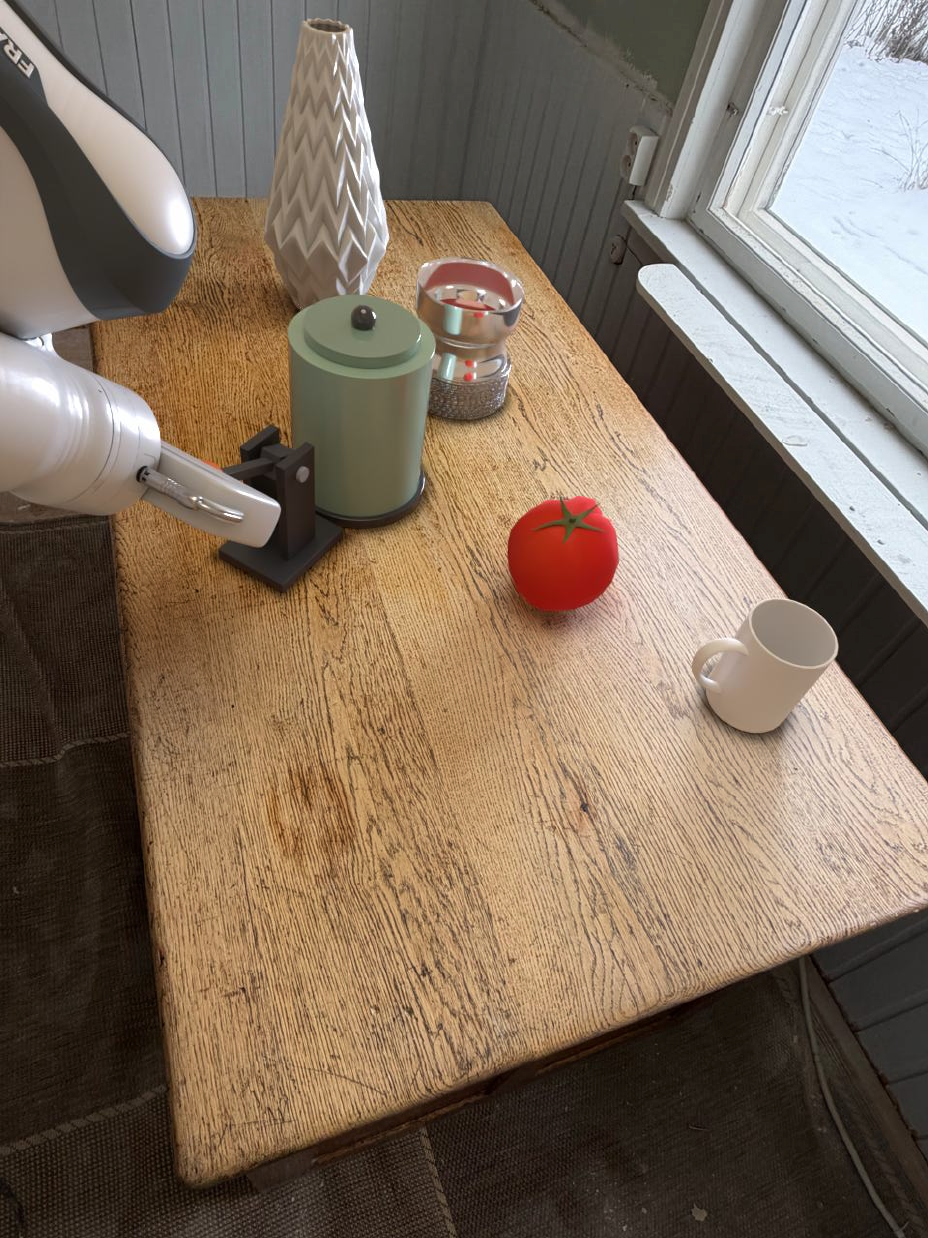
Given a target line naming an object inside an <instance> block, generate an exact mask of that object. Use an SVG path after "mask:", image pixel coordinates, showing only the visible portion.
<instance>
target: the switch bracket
mask: <svg viewBox="0 0 928 1238" xmlns="http://www.w3.org/2000/svg"><path fill="white" fill-rule="evenodd" d="M280 433H281V431H280V427H279V426H276V425H274V424H273V423H270V424H269V425H267V426H266V427H265V428H263V429H262V430H261V431H259V432H257V433H256V434H255V435H253V436H252V437H251V438H249V439H248V440H246V441H245V442H244V443H242V444H241V445H239V457H240V463H244V462H248V461H252V460H256V459H260V455H261V450H262V447H266V446H270V445H275V444H279V443H281V434H280ZM275 467H276V481H275V480H273V479H271V478H269V477H267V476H265V475H263V474H262V475H258V476H255V477H251V478H248V479H244V480H242V483H244V484H246V485H248V486H250V487H251V488H253V489H255V490H257V491H259V492H261V493H263V494H265V495H267V496H268V497H270V498H272V499H273V500H275V501H276V502H277V503H278V504H279V505H280V507H281V512H280V516H279V519H278V521H277V524H276V526H275V528H274V530H273V532H272V534H271V536H270V538H269V540H268V541H267V543H266V544H265V545H264V546H262V547H253V546H249V545H245V544H242V543H238V542H234V541H231V540H227V541H226V542H224V543H223V544H222V545H221V546H219V547H218V548H217V552H218V553H217V554H218V557H219V558H220V559H222V560H223V561H225V562H227V563H229V564H231V565H232V566H233V567H236V568H237V569H239V570H241V571H243V572H245V573H247V574H249V575H250V576H252V577H253V578H256V579H257V580H259V581H261V582H262V583H264V584H265V585H268V586H269V587H271V588H273V589H275V590H277V591H279V592H280V593H285V592H286V591H288V589H289V588H291V586H293V585H294V584H295V582H297V581H298V580H299V579H300V578H301V577H302V576H303V575H304V574H305V573H306V572H307V571H309V570H310V569H311V567H313V566H314V565H315V564H316V563H317V562H318V561H319V560H321V558H322V557H323V556H324V555H325V554H326V553H328V552H329V551H330V550H331V549H332V548H333V547H334V546H336V544H337V543H338V542H340V540H342V538H344V527H340V526H337V525H336V524H334V523H332V522H330V521H328V520H326V519H324V518H322V517H320V516H318V515H317V514H315V451H314V445H312V444H310V443H308V442H305V443H304V444H302V445H301V446H300V447H298V448H297V449H296V450H295V451H293V452H292V453H291V454H289V455H288V456H287V457H286V458H284V459H283V460H282V461H280V462H279V463H278V464H276V466H275Z"/></svg>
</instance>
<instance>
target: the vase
mask: <svg viewBox="0 0 928 1238" xmlns="http://www.w3.org/2000/svg"><path fill="white" fill-rule="evenodd" d="M300 29H301V30H300V34H299V36H298V42H297V46H296V52H295V61H294V63H293V66H292V70H291V77H290V87H289V96H288V99H287V104H286V108H285V112H284V116H283V120H282V127H281V130H280V134H279V141H278V144H277V145H278V146H277V151H276V155H275V157H274V164H273V173H272V177H271V182H270V187H269V191H268V195H267V202H266V210H265V214H264V219H263V227H264V231H263V241H264V242H265V243H266V245H267V246H268V248H269V249H270V251H271V252H272V254H273V260H274V265H275V268H276V270H277V273H278V274H279V276H280V278H281V280H282V283H283V284H284V286H285V288H286V290H287V291H288V294H289V295H290V298H291V300H292V303H293V304H294V306H295V307H296V308H297V309H298V310H299V312H300V311H302V310H303V309H305V308H307V307H309V306H311V305H314V304H315V303H317V302H319V301H321V300H324V299H326V298H330V297H334V296H340V295H367V294H368V293H369V291H370V288H371V286H372V283H373V282H374V279H375V277H376V272H377V269H378V267H379V263H380V262H381V261H382V260H383V258H384V256H385V255H386V251H387V245H388V244H389V241H390V234H389V233H390V232H389V228H388V227H389V226H388V224H387V212H386V207H385V204H384V201H383V197H382V193H381V189H380V171H379V168H378V165H377V161H376V157H375V152H374V148H373V144H372V132H371V128H370V125H369V121H368V117H367V113H366V109H365V98H364V95H363V94H364V93H363V86H362V79H361V75H360V69H359V68H360V65H359V61H358V57H357V53H356V49H355V41H354V29H353V28H352V27H350V25H349V24H347V23H342V22H341V21H340V20H337V21H336V20H335V21H333V20H332V19H330V18H326V19H322V18H319V17H316V18H315V19H313V18H307V19H306V20H302V22H301V28H300ZM294 301H295V302H297V303H298V304H299V305H298V304H297V303H295V302H294ZM300 307H301V308H300ZM302 308H303V309H302Z"/></svg>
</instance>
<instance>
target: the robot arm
mask: <svg viewBox="0 0 928 1238" xmlns="http://www.w3.org/2000/svg"><path fill="white" fill-rule="evenodd" d="M197 226H198V225H197V219H196V213H195V210H194V206H193V202H192V201H191V197H190V195H189V192H188V190H187V188H186V185H185V183H184V181H183V179H182V177H181V175H180V173H179V172H178V170H177V168H176V166H175V165H174V163H173V162H172V160H171V159H170V157H169V156H168V154H167V153H166V152H165V150H164V148H162V146H161V145H160V144H159V142H157V141H156V139H155V138H154V137H153V136H152V135H151V133H149V132H148V131H147V130H146V129H145V128H144V127H143V126H142V125H141V124H140V123H139V122H138V121H137V120H136V119H135V118H134V117H133V116H131V114H129V113H128V112H127V111H126V110H125V109H123V108H122V107H121V106H120V105H119V104H118V103H117V102H116V101H115V100H113V99H112V98H111V97H110V96H109V95H107V93H105V91H103V90H102V89H101V88H100V86H98V85H97V84H96V83H95V82H94V81H93V80H92V79H91V78H90V77H89V76H88V75H86V73H85V72H83V70H82V69H81V68H80V67H78V66H77V64H76V63H75V62H74V61H73V60H72V59H71V57H70V56H69V55H68V54H67V53H66V52H65V51H64V50H63V49H62V47H61V46H60V45H59V44H58V43H57V41H56V40H54V38H53V37H52V36H51V35H50V34H49V33H48V32H47V30H46V29H45V28H44V27H43V26H42V24H41V23H40V22H39V21H38V20H37V18H36V17H35V16H34V15H33V14H32V13H31V11H29V9H28V8H27V7H26V6H25V5H24V3H23V2H22V1H21V0H0V494H1V493H8V492H9V493H10V494H11V495H13V496H15V497H17V498H19V499H21V500H22V501H26V502H29V503H32V504H34V505H35V504H36V505H40V506H45V507H50V508H55V509H60V510H65V511H71V512H76V513H80V514H84V515H88V516H89V515H90V516H96V517H98V516H99V517H103V516H104V517H105V516H111V515H115V514H119V513H121V512H123V511H126V510H127V509H129V508H131V507H132V506H133V505H134V504H135V503H137V502H138V501H139V500H140V499H141V500H143V501H145V502H146V503H148V504H150V505H152V506H153V507H155V508H157V509H159V510H161V511H163V512H165V513H166V514H168V515H170V516H171V517H173V518H175V519H177V520H179V521H181V522H183V523H184V524H186V525H188V526H191V527H192V528H195V529H197V530H199V531H202V532H205V533H206V534H209V535H212V536H215V537H217V538H221V539H224V540H227V541H228V540H231V541H234V542H238V543H242V544H245V545H249V546H253V547H262V546H264V545H265V544H266V543H267V541H268V540H269V538H270V536H271V534H272V532H273V530H274V528H275V526H276V524H277V521H278V519H279V516H280V512H281V507H280V505H279V504H278V503H277V502H276V501H275V500H273V499H272V498H270V497H268V496H267V495H265V494H263V493H261V492H259V491H257V490H255V489H253V488H251V487H250V486H248V485H246V484H244V483H243V481H241V480H240V481H238V480H236V479H234V478H233V477H231V476H229V475H227V474H225V473H223V472H221V471H219V470H217V469H216V468H214V467H212V466H210V465H208V464H206V463H204V462H202V461H200V460H199V458H197V457H195V456H193V455H191V454H189V453H187V452H185V451H183V450H182V449H180V448H178V447H176V446H175V445H172V444H170V443H168V442H166V441H164V440H163V439H161V432H160V428H159V425H158V421H157V419H156V417H155V414H154V412H153V410H152V408H151V407H150V405H148V403H147V402H146V400H144V399H143V398H142V397H141V396H140V395H139V394H138V393H137V392H135V391H134V390H132V389H130V388H128V387H126V386H123V385H121V384H119V383H117V382H115V381H112V380H110V379H108V378H106V377H103V376H101V375H99V374H97V373H94V372H93V371H91V370H88V369H86V368H84V367H80V366H79V365H77V364H75V363H73V362H70V361H67V360H66V359H64V358H62V357H61V356H60V355H58V353H57V352H56V350H55V348H54V345H53V337H52V334H53V333H57V332H61V331H64V330H69V329H72V328H76V327H80V326H84V325H87V324H91V323H95V322H98V321H102V322H103V321H104V322H110V321H116V320H123V319H130V318H137V317H144V316H149V315H150V316H151V315H157V314H160V313H163V312H164V311H166V310H167V309H168V308H169V307H170V306H171V305H172V303H173V302H174V300H175V298H176V297H177V296H178V294H179V292H180V291H181V289H182V287H183V285H184V283H185V281H186V279H187V277H188V275H189V272H190V269H191V266H192V262H193V259H194V256H195V251H196V248H197V247H196V246H197V241H198V227H197Z"/></svg>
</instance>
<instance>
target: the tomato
mask: <svg viewBox="0 0 928 1238" xmlns="http://www.w3.org/2000/svg"><path fill="white" fill-rule="evenodd" d="M558 497H559V499H546V500H545V501H542V502H540V503H539V504H537V505H536V506H534V507H532V508H530V509H529V510H527V511H526V513H525V514H523V515H522V516H521V517H520V518H519V519H517V521H516V523H514V525H513V526H512V528H511V530H510V532H509V535H508V539H507V553H506V554H507V565H508V572H509V574H510V576H511V579H512V582H513V584H514V587H515V590H516V591H517V593H518V594H520V596H521V597H522V598H523V599H524V600H525V601H526V602H527V603H528V604H529V605H530V606H531V607H534V608H535V609H538V610H540V611H542V612H543V611H544V612H546V611H547V612H562V611H574V610H577V609H579V608H582V607H584V606H587V605H590V604H591V603H593V602H594V601H595V600H597V599H598V598H599V597H600V596H602V595H603V594H604V593H605V592H606V591H607V589H608V588H609V587H610V586H611V584H612V583H613V580H614V577H615V574H616V571H617V570H618V566H619V563H620V553H619V543H618V537H617V531H616V528H615V527H614V525H613V524H612V522H611V520H610V519H609V518H607V517H605V516H604V514H603V511H602V509H601V507H600V506H599V505H600V504H601V502H599V503H597V501H596V500H595V499H594V498H591V497H586V496H583V495H576V496H574V497H571V498H569V499H567V500H565V499H563V498H562V496H560V495H559V496H558Z"/></svg>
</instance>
